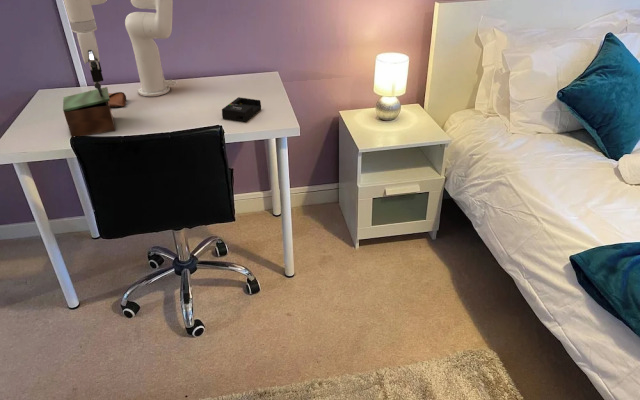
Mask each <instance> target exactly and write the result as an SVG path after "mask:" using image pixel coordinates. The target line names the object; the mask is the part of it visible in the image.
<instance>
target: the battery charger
mask: <svg viewBox="0 0 640 400" xmlns="http://www.w3.org/2000/svg"><path fill="white" fill-rule="evenodd" d="M260 111H262V102H261V100H260V99H256V98H255V99H253V98H246V97H240V96H239V97H237V98H235V99H234V100H232V101H231V102H229V103H228V104H227V105H226V106H224V107H223V108H222V109H221V116H222V120H225V121H233V122H238V123H245V124H246V123H247V122H249V121H250V120H251V119H252V118H253V117H254V116H256V115H257V114H258V113H259V112H260Z"/></svg>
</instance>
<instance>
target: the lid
mask: <svg viewBox="0 0 640 400" xmlns="http://www.w3.org/2000/svg"><path fill="white" fill-rule="evenodd" d="M101 84H102V83H101V81H100V82H93V85H94V86H93V87H94V88H95V89H92V90H89V91H84V92H79V93H75V94H71V95H67V96H63V98H62V100H63V101H62V111H63V113H64V112H66V111H70V110H74V109H78V108H82V107H86V106H91V105H95V104H99V103H103V102H107V101H110V98H109V93H110V92H109V89H108V86H105V87H102V85H101Z"/></svg>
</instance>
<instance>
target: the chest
mask: <svg viewBox="0 0 640 400" xmlns="http://www.w3.org/2000/svg"><path fill="white" fill-rule="evenodd" d="M63 114H64V118H65V120H66V123H67V127H68V130H69V133H70V136H71V138H74V137H73V136H78V137H84V136H89V135H96V134H101V133H108V132H115V131H116V127H115V122H114V121H115V120H114V117H113V112H112V108H110V105H109V101H107V102H103V103H99V104H95V105H91V106H86V107H82V108H78V109H74V110H70V111H66V112H64V111H63Z"/></svg>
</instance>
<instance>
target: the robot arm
mask: <svg viewBox="0 0 640 400" xmlns="http://www.w3.org/2000/svg"><path fill="white" fill-rule="evenodd" d="M107 1H108V0H63V4H64V7H65V11H66V14H67V17H68V21H69V25H70V27H71V28H70V29H71V31H72V33H75V34H76V38H77V42H78V45H79V46H78V47H79V48H80V52H81V56H82V59H83V63H84V64H85V65H87V64H88V65H89V69H90V70H89V71H90V75H91V78H92V82H93V83H94V82H100V83H101V82H103V81H104V76H103V73H102V72H103V70H102V67H101V66H102V65H101V62H100V52H99V46H98V41H97V38H96V33H95V31H97V30H98V26H97V23H96V18H95V15H94V11H93V7H92V6H96V5H97V6H98V5H102V4H105V3H106V2H107ZM130 3H131V5H132V6H133V7H134V8H137V9H141V10H155V12H149V11H134V12H130V13H129V14H127V15H126V17H125V18H124V19H125V20H124V25H125V30H126V32H127V34H128V36H129V40H130V42H131V46H132V49H133V54H134V60H135V65H136V69H137V73H138V77H139V81H140V85H141V86H140V87H139V88H138V90H137V92H138V95H140V96H143V97H158V96H162V95H163V96H164V95H165V94H167V93H169V92H170V91H171V89H170V86H177V80H173V79H166V78H165V76H164V71H163V65H162V61H161V60H162V59H161V56H160V55H161V54H160V50H159V49H160V48H159V46H158V44H157V43H156V41H155V40H167V39H169V38H170V37H171V35H172V31H173V10H174V9H173V8H174V1H173V0H130ZM154 39H155V40H154Z"/></svg>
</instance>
